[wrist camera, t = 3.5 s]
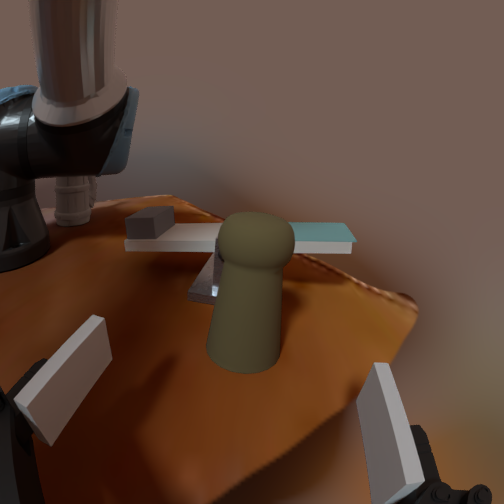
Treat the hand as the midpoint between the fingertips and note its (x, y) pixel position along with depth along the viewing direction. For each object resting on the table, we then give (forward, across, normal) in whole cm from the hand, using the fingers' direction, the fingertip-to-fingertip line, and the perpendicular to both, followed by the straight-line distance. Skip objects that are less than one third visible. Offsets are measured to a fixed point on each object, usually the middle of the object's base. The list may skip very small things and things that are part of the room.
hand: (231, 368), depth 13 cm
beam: (+21, -3, 0) cm, 21 cm away
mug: (+36, -37, -6) cm, 52 cm away
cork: (+9, 0, -6) cm, 11 cm away
